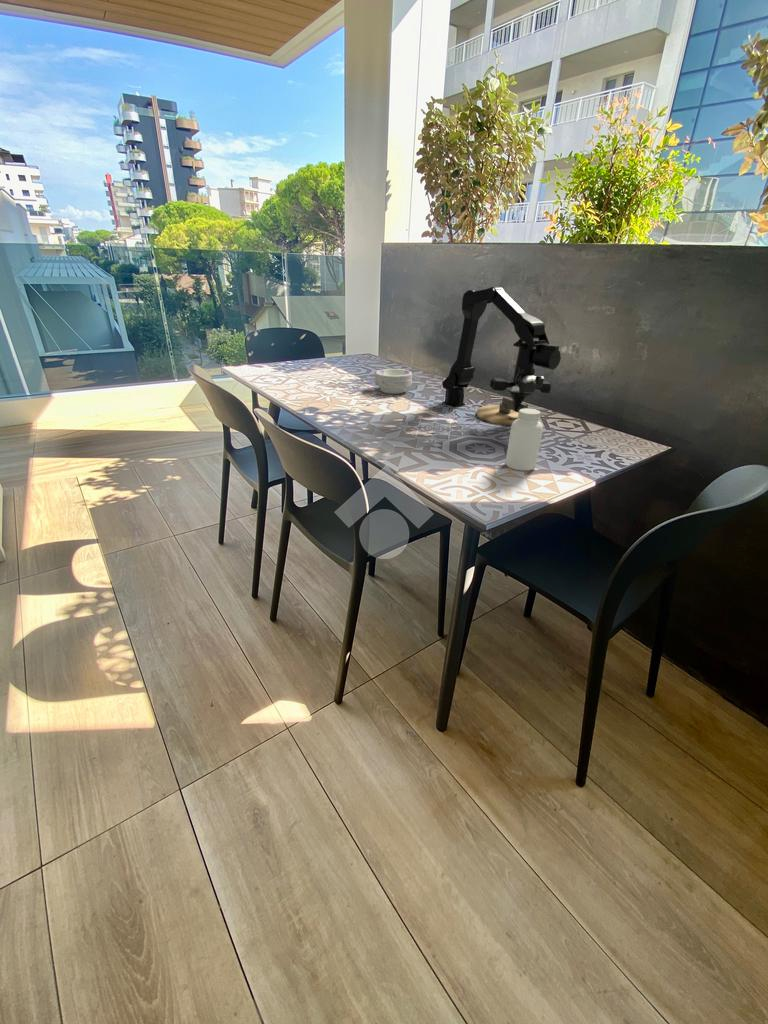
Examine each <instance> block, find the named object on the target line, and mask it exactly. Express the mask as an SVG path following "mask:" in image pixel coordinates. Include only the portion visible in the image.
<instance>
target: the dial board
mask: <svg viewBox="0 0 768 1024" xmlns="http://www.w3.org/2000/svg"><path fill="white" fill-rule="evenodd" d="M499 407H500V404H489V405H484V406H481V407H478V408H477V410H476V417H478V418H479V419H480V420H482V421H484V422H488V423H490V424H495V425H500V426H501V425H503V426H511V425H512V423H513V422H514V421H515V420H517V419H518V412H515V411H513V410H511V412H510V413H500V412H499Z"/></svg>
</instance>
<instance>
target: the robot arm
mask: <svg viewBox="0 0 768 1024" xmlns="http://www.w3.org/2000/svg"><path fill="white" fill-rule="evenodd" d="M461 300H462V301H461V311H462V315H463V325H462V329H461V335H460V340H459V345H458V351H457V356H456V360H455V361H454V363H453V364H452V366H451V367H450V370H449V373H448V376H447V377H446V378H445V379H444V380H443V381H442V382H441V383H442V389H445V397H444V401H442V402H441V404H443V405H447V406H449V407H453V408H454V407H460V406H463V405H466V403H465V402H464V400H465V389H467V388H468V387H469V384H470V383H471V382H472V379H474V373H475V371H476V368H475V367H474V366H473V365H472V363H471V360H472V354H473V350H474V344H475V340H476V335H477V331H478V325H479V320H480V318H481V317H482V316H483V314H484V313H485V311H486V309H487V305H489V304H491V303H493V305H494V306H495V307H496V308H497V309H498V310H499V311H500V312H501V313H502V314H503V315H504V316H505V317H506V318H507V319H508V320H509V321H510V323H512V325H513V328H514V333H516V335H517V337H519V339H518V340H517V341H516V342H514V343H513V346H514V347H517V348H518V350H517V356H516V360H515V361H516V362H515V364H514V366H513V368H514V372H513V376H512V377H511V381H507V380H505V378H502V377H501V378H500V377H498V378H497V377H493V378H492V379H491V380H490V383H489V386H490V388H491V389H492V390H494V391H496V392H497V391H501V392H503V391H504V392H505V390H507V391H508V392H509V393H510V396H511V398H512V399H513V405H514V411H515V412H517V410H518V408H519V406H520V405H521V403H523V401H524V400H525V398H526V397H528V396H530V395H531V396H532V395H533V393H535V391H536V390H539V391H540V393H542V394H551V392H552V384H551V383H550V382H549V381H547V380H545V378H544V376H542V375H535V372H536V369H535V366H536V367H540V368H544V369H548V370H553V371H554V370H555V369H557V367H558V366H559V364H560V363H561V358H562V356H561V352H560V346H559V345H556V344H554V345H552V344H550V341H549V340H548V339H549V338H548V336H547V334H546V330H545V327H546V325H545V323H544V322H543V321H542V320H541V319H539V318H537V317H535V316H534V315H532V314H528V313H527V312H526V311H524V310H523V308H521V307H520V305H519V304H518V303H517V302H516V301H515V300H513V298H512V297H511V296H509V294H508V293H507V292H506V291H505V289H504V288H503V287H502V286H491V287H489V288H486V289H485V288H484V289H469V290H466V292H465V293H463V295H462V299H461Z"/></svg>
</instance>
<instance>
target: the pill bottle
mask: <svg viewBox="0 0 768 1024" xmlns="http://www.w3.org/2000/svg"><path fill="white" fill-rule="evenodd" d="M540 418H541V411H540V410H538V409H534V408H529V407H528V408H525V409H520V410H519V413H518V419H517V420H515V421H514V422H513V423H512V425H510V432H509V438H508V445H507V451H506V456H505V464H506V466H507V467H508V468H510V469H512V470H515V471H524V472H525V471H526V472H528V471H529V472H530V471H533V470H534V469H535V468H536V465H537V463H538V462H537V461H538V457H539V451H540V447H541V442H542V437H543V431H544V425H543V424H542V422H541V421H540Z"/></svg>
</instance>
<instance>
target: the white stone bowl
mask: <svg viewBox="0 0 768 1024" xmlns="http://www.w3.org/2000/svg"><path fill="white" fill-rule="evenodd" d="M374 383H375V385H376V386H378V387H379V390H380V391H381V392H382V393H385V394H391V395H393V394H394V395H395V394H396V395H397V394H403V393H405V392H406V391H407V389H408V387H410V386H412V383H413V372H412V371H410V370H408V369H402V368H383V369H380V370H376V371H375V373H374Z"/></svg>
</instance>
